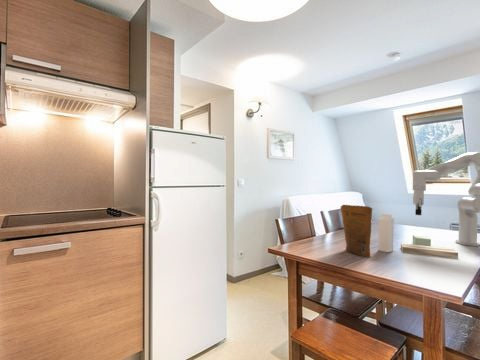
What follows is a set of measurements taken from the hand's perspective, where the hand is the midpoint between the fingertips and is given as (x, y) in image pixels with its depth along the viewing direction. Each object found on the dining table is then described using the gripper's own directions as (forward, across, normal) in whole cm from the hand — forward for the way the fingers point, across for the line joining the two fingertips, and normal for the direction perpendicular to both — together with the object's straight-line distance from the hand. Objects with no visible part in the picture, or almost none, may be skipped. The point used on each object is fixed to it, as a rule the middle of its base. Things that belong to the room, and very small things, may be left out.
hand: (418, 214), depth 181 cm
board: (+19, +29, 0) cm, 35 cm away
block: (+19, +11, 0) cm, 22 cm away
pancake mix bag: (+19, +51, -38) cm, 66 cm away
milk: (+19, +35, -22) cm, 45 cm away
